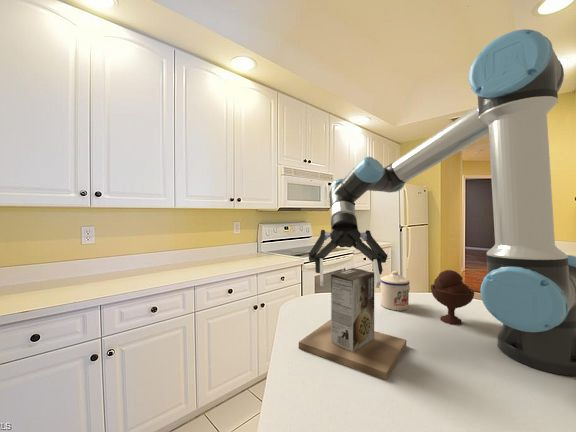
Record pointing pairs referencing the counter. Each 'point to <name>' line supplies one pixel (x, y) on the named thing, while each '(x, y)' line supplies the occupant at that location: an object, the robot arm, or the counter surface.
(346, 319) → the coffee box
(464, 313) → the counter surface
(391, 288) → the teacup with lid
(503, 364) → the counter surface
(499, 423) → the counter surface
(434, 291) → the ice cream bowl
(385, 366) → the walnut board
